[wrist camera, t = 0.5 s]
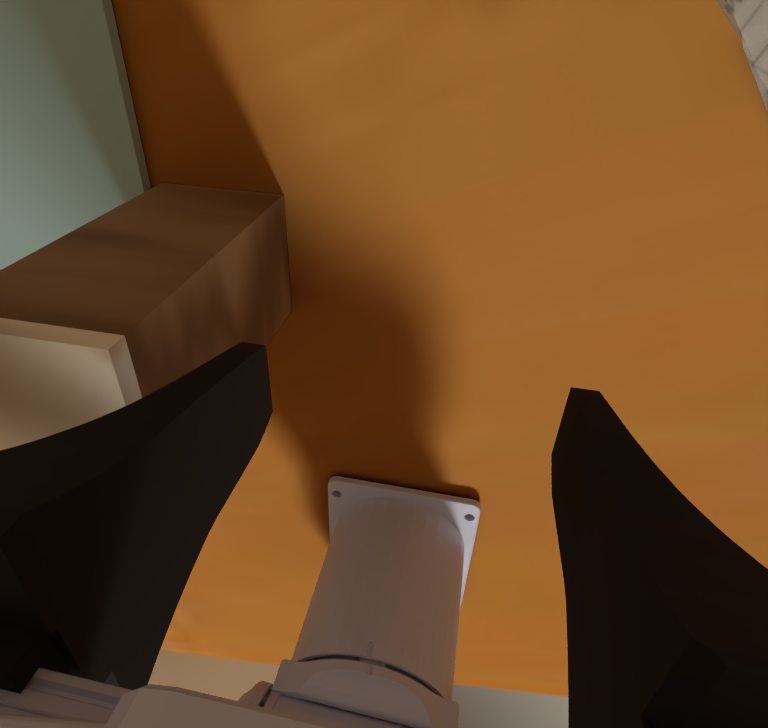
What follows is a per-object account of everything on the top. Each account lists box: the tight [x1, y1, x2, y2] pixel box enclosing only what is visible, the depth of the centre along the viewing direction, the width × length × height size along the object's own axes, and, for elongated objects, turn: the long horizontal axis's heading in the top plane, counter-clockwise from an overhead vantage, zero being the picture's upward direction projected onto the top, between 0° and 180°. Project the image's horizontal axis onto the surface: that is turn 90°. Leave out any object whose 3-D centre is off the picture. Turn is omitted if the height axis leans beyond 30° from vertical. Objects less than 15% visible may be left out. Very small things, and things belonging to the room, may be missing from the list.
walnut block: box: [0, 183, 292, 450], centre depth 18 cm, size 5×5×11 cm
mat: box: [0, 0, 151, 270], centre depth 23 cm, size 16×11×1 cm
